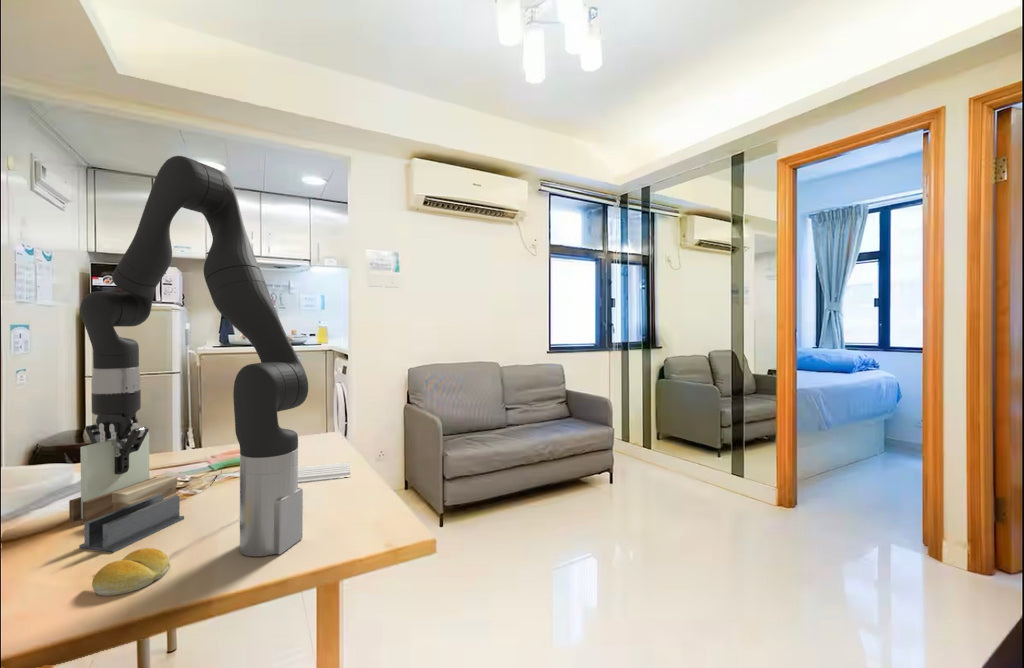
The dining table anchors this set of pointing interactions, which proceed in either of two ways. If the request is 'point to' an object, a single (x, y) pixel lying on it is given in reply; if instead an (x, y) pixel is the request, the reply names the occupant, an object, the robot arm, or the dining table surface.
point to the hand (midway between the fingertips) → (117, 472)
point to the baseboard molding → (316, 472)
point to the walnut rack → (93, 507)
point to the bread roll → (131, 572)
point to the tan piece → (145, 491)
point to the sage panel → (110, 469)
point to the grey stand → (131, 523)
